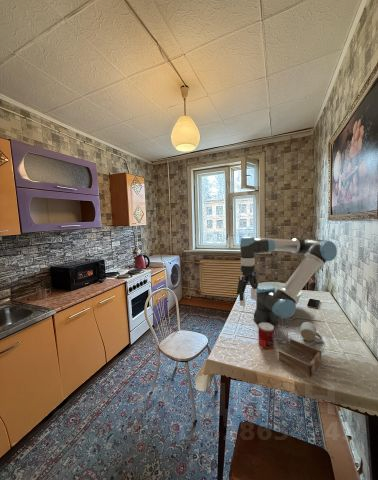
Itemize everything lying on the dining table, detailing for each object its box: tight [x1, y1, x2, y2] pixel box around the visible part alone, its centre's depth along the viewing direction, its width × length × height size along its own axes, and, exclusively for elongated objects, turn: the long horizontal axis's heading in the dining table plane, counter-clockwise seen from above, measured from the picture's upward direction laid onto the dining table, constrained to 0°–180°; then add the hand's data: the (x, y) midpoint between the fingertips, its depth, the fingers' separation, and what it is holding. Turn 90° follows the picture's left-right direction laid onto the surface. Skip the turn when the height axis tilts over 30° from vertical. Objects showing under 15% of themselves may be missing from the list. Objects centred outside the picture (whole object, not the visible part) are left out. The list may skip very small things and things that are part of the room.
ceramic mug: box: [300, 321, 323, 343], centre depth 113 cm, size 11×8×8 cm
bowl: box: [258, 281, 303, 307], centre depth 152 cm, size 32×32×15 cm
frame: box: [278, 338, 322, 378], centre depth 97 cm, size 14×14×5 cm
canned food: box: [257, 322, 275, 350], centre depth 109 cm, size 8×8×11 cm
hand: (248, 302), depth 115 cm, fingers open, 11 cm apart
